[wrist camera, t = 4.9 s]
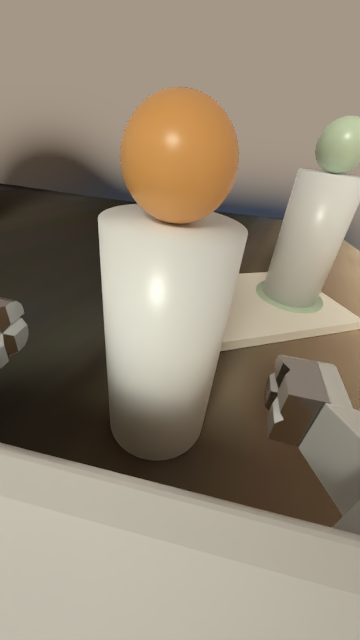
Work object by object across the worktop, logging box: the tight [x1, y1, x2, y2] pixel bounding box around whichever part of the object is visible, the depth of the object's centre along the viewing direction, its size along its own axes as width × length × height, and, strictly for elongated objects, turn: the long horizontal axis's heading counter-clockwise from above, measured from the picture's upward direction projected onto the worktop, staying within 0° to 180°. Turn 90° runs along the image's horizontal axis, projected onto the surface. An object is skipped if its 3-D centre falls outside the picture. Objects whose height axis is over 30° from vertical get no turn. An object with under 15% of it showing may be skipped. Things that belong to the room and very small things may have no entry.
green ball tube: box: [263, 116, 360, 308], centre depth 22 cm, size 5×5×13 cm
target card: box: [220, 272, 360, 351], centre depth 24 cm, size 10×20×1 cm, turn 109°
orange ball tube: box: [98, 87, 248, 461], centre depth 11 cm, size 5×5×13 cm
